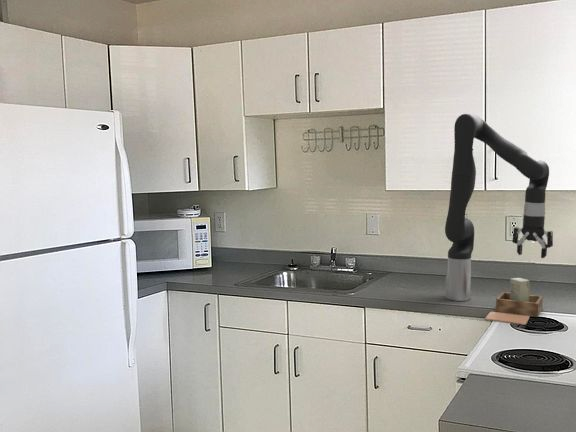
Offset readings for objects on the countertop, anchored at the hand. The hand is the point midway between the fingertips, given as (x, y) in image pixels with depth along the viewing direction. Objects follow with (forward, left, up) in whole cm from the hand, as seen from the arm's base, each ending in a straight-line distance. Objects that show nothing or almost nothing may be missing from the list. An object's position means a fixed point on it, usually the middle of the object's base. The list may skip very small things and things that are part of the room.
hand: (531, 256), depth 238 cm
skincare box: (-3, -2, -21) cm, 22 cm away
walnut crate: (-3, -2, -21) cm, 21 cm away
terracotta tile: (-5, -15, -21) cm, 26 cm away
